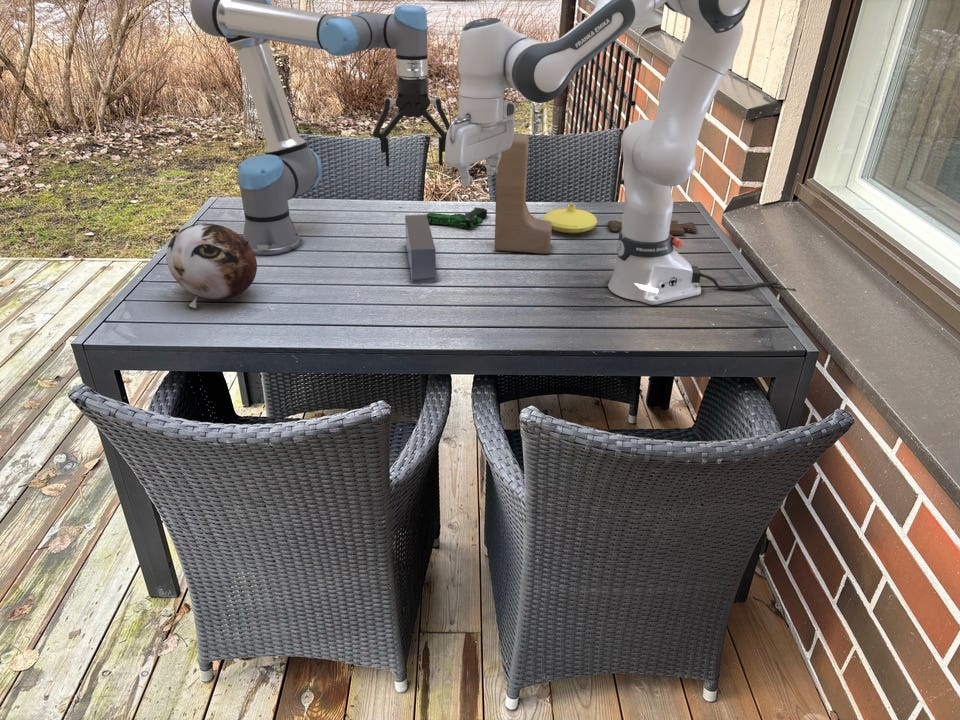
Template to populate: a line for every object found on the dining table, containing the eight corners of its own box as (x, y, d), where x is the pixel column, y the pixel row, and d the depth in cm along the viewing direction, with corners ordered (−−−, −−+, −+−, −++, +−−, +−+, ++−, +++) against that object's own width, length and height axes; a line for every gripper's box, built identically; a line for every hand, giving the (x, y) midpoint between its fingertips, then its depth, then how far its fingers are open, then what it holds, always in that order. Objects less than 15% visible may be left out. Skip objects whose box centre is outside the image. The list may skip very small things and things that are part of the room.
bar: (406, 246, 198) (404, 215, 193) (427, 245, 199) (426, 214, 194) (412, 283, 177) (411, 249, 172) (435, 282, 178) (435, 248, 173)
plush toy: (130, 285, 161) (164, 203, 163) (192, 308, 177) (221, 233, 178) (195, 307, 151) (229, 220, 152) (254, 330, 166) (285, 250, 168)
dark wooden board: (699, 237, 207) (691, 225, 216) (700, 231, 206) (692, 220, 215) (610, 234, 207) (606, 222, 216) (611, 228, 207) (607, 217, 215)
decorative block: (549, 254, 193) (556, 142, 178) (494, 251, 195) (497, 139, 180) (550, 244, 200) (558, 135, 184) (497, 241, 201) (500, 132, 186)
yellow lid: (559, 216, 220) (561, 193, 217) (605, 227, 212) (608, 204, 209) (532, 230, 209) (533, 207, 206) (580, 242, 201) (582, 218, 198)
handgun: (493, 208, 218) (473, 222, 206) (492, 217, 219) (473, 231, 207) (445, 201, 223) (423, 215, 211) (445, 211, 225) (423, 224, 212)
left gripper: (360, 79, 168) (365, 169, 179) (465, 79, 171) (464, 168, 182) (360, 74, 174) (365, 161, 185) (461, 74, 177) (460, 159, 188)
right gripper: (464, 121, 131) (463, 195, 138) (520, 103, 146) (517, 171, 153) (436, 117, 134) (437, 189, 141) (494, 99, 149) (492, 166, 156)
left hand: (414, 164), depth 183 cm, fingers open, 13 cm apart
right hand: (479, 179), depth 147 cm, fingers open, 8 cm apart
